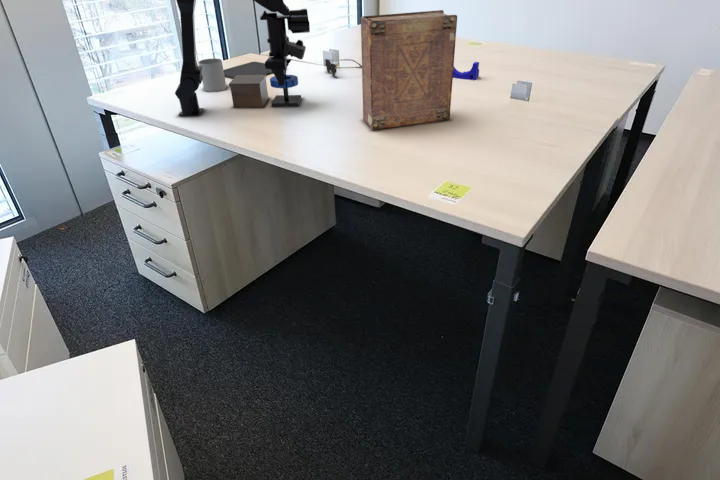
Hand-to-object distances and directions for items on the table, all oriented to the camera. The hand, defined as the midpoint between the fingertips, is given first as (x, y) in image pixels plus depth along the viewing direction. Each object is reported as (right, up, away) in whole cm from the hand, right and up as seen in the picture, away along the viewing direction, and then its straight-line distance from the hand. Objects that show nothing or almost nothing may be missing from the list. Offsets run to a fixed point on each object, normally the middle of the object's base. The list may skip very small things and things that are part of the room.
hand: (282, 84), depth 160 cm
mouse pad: (-21, +19, +43) cm, 51 cm away
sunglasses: (+21, +17, +38) cm, 46 cm away
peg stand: (0, -4, +7) cm, 8 cm away
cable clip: (+66, +12, +28) cm, 73 cm away
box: (-12, -4, +7) cm, 15 cm away
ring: (0, +1, +3) cm, 4 cm away
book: (+40, -15, -10) cm, 44 cm away
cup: (-29, +6, +23) cm, 38 cm away
